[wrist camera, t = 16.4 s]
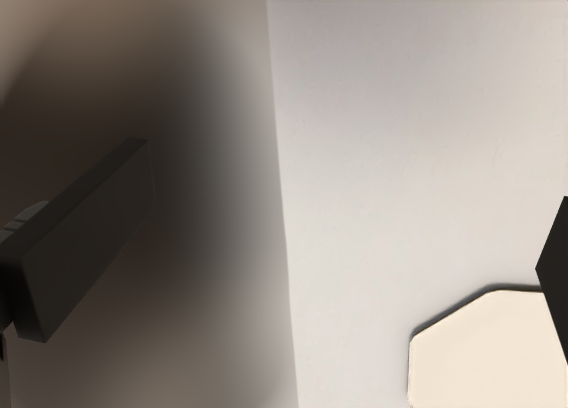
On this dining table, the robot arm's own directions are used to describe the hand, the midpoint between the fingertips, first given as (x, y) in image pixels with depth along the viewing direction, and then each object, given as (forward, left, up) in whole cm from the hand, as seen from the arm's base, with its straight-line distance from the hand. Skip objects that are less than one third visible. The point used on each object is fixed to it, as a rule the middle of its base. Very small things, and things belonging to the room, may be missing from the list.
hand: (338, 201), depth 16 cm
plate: (+39, -22, -31) cm, 54 cm away
